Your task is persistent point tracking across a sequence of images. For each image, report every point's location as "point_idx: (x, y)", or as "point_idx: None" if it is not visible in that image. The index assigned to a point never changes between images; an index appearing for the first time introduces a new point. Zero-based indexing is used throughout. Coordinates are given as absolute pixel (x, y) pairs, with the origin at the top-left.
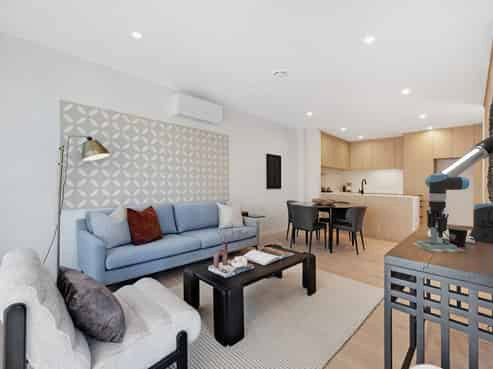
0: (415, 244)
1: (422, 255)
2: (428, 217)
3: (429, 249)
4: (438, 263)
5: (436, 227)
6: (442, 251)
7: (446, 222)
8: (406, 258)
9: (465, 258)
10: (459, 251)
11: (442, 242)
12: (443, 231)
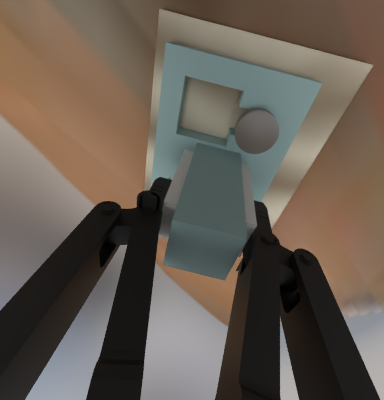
0: None
1: None
2: (48, 354)
3: None
4: (343, 298)
5: (190, 243)
6: (286, 200)
7: (362, 381)
8: None
9: None
10: (343, 106)
11: (192, 75)
12: (280, 245)
